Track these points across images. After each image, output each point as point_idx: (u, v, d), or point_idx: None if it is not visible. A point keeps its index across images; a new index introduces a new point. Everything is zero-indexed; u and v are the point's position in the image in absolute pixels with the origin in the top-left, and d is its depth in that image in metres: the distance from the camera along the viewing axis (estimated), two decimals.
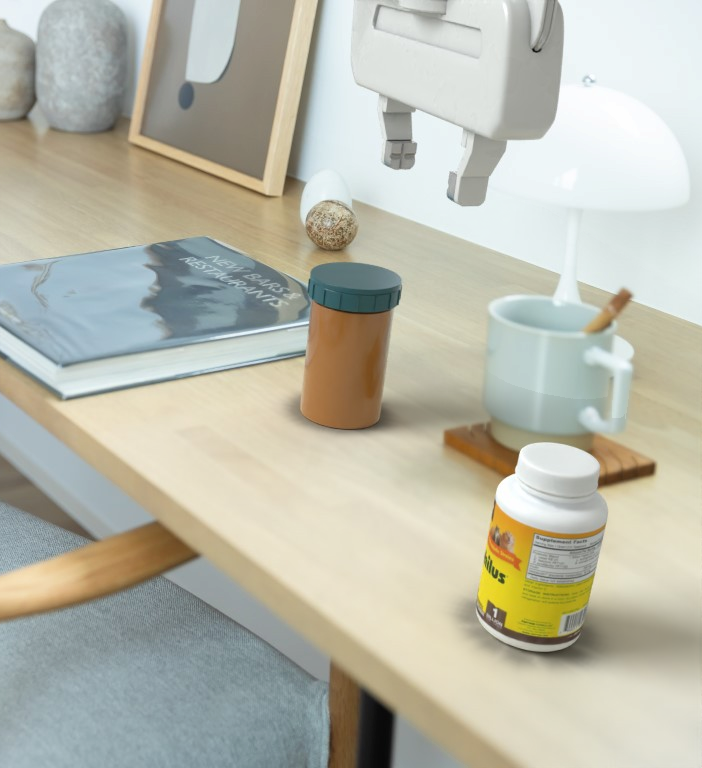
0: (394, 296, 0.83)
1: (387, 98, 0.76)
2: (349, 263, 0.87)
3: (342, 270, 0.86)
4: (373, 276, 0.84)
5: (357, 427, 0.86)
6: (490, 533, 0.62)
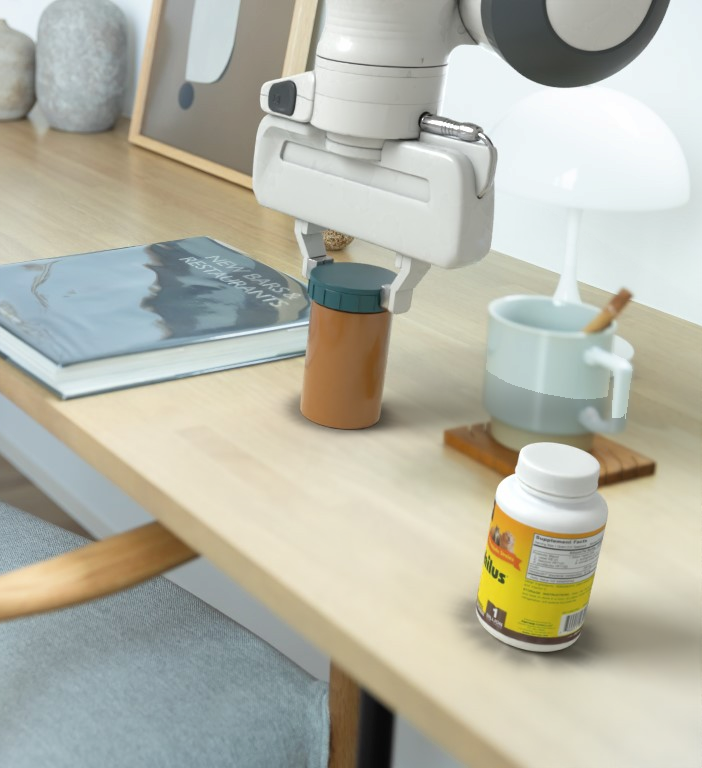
0: None
1: (307, 222, 0.86)
2: (349, 263, 0.87)
3: (342, 270, 0.86)
4: (373, 276, 0.84)
5: (357, 427, 0.86)
6: (490, 533, 0.62)
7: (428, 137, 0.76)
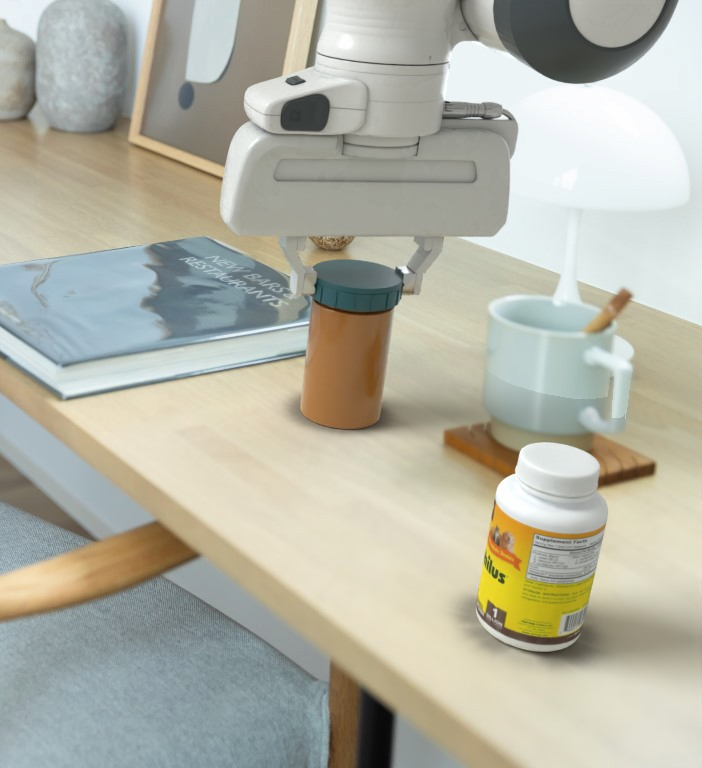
0: None
1: (305, 237, 0.82)
2: (319, 265, 0.85)
3: (339, 273, 0.84)
4: (363, 269, 0.85)
5: (357, 427, 0.86)
6: (490, 533, 0.62)
7: (450, 122, 0.80)
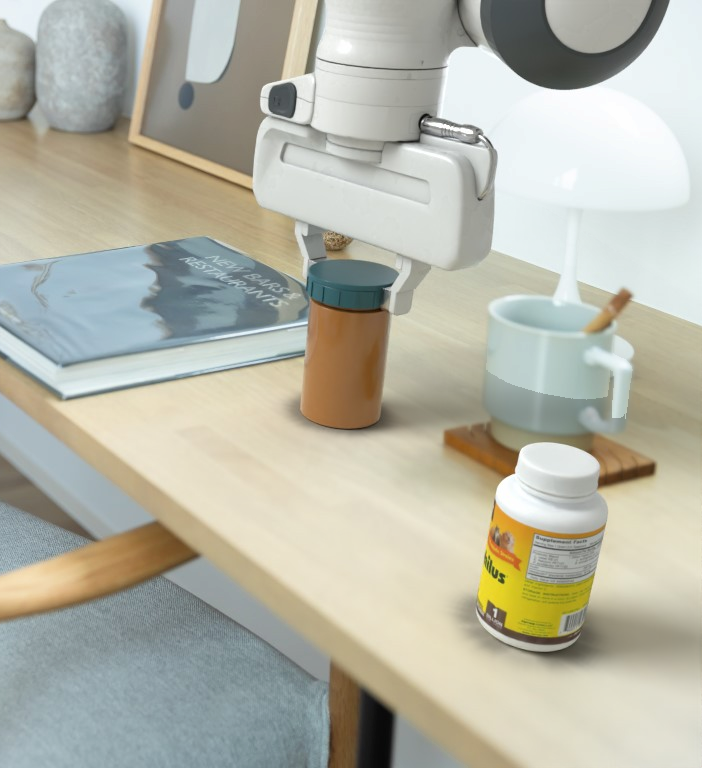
0: None
1: (308, 224, 0.86)
2: (315, 266, 0.85)
3: (337, 273, 0.84)
4: (359, 267, 0.86)
5: (357, 426, 0.86)
6: (490, 533, 0.62)
7: (428, 139, 0.76)
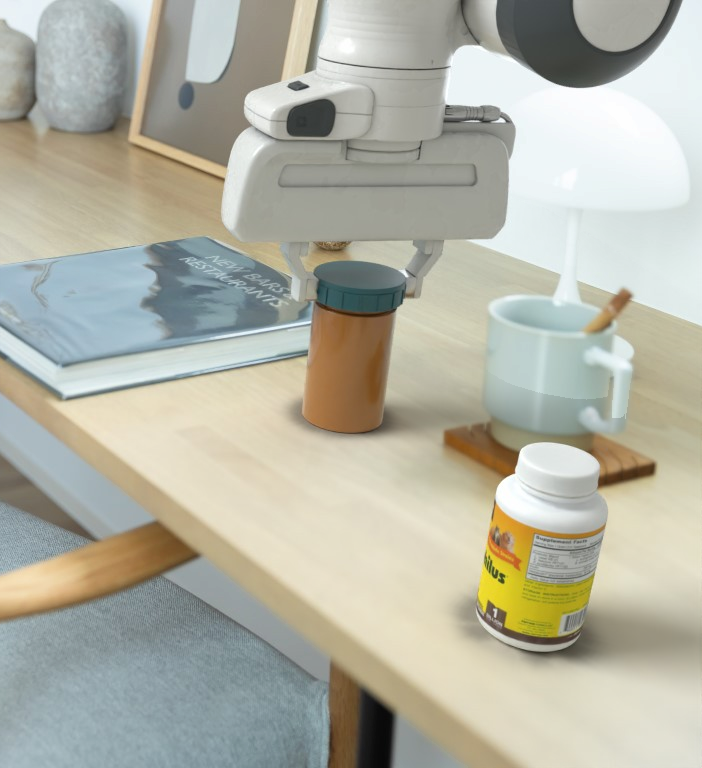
0: None
1: (308, 243, 0.81)
2: (334, 282, 0.82)
3: (360, 280, 0.82)
4: (346, 269, 0.84)
5: (358, 431, 0.86)
6: (490, 533, 0.62)
7: (449, 126, 0.80)
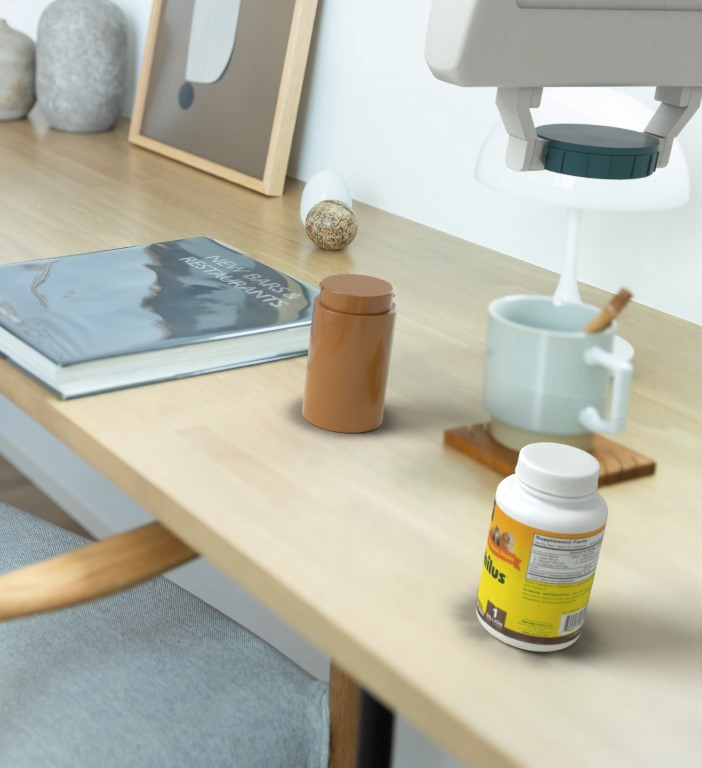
0: None
1: (541, 90, 0.61)
2: (574, 142, 0.62)
3: (602, 140, 0.63)
4: (574, 131, 0.65)
5: (358, 431, 0.86)
6: (490, 533, 0.62)
7: None
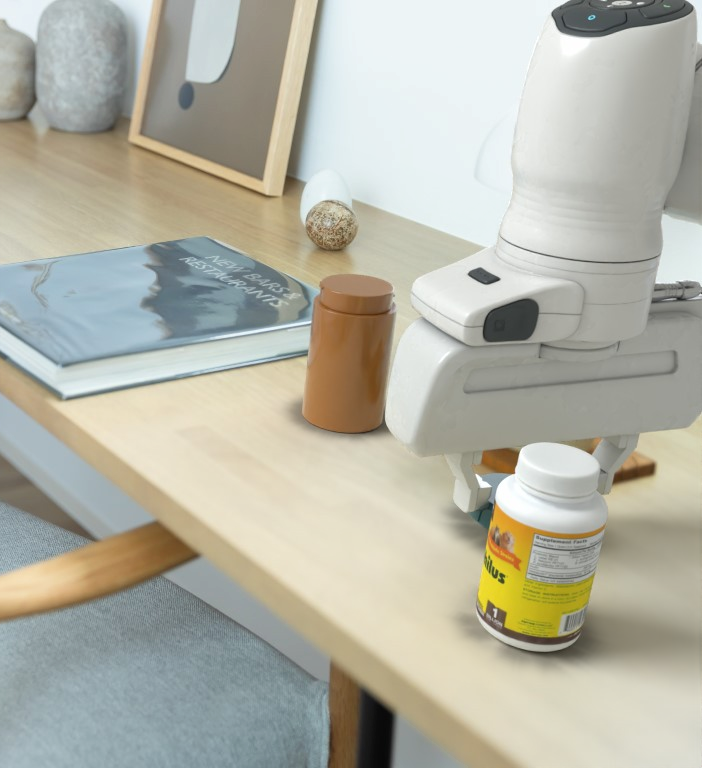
0: None
1: (482, 450, 0.69)
2: None
3: None
4: None
5: (358, 431, 0.86)
6: (490, 533, 0.62)
7: None
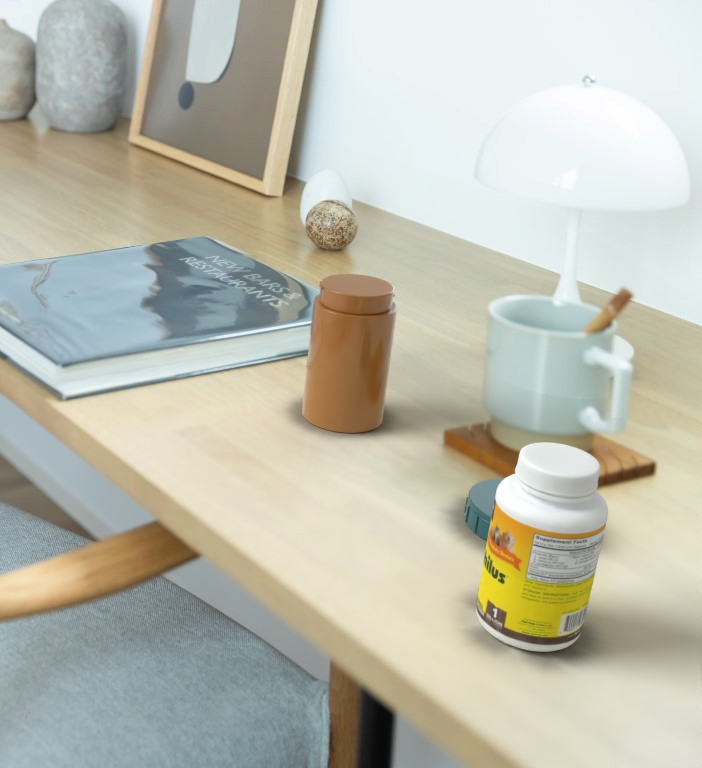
0: None
1: None
2: None
3: None
4: None
5: (358, 431, 0.86)
6: (490, 533, 0.62)
7: None
